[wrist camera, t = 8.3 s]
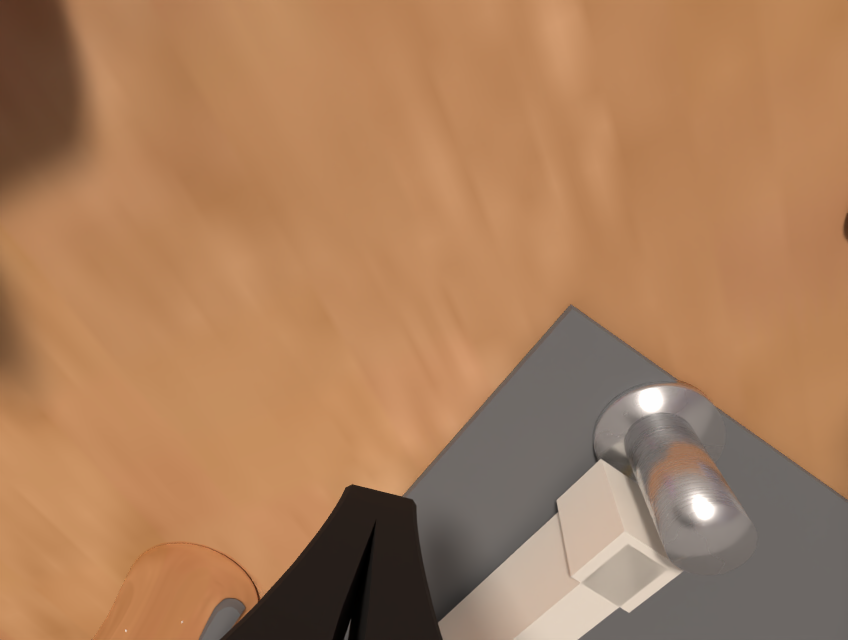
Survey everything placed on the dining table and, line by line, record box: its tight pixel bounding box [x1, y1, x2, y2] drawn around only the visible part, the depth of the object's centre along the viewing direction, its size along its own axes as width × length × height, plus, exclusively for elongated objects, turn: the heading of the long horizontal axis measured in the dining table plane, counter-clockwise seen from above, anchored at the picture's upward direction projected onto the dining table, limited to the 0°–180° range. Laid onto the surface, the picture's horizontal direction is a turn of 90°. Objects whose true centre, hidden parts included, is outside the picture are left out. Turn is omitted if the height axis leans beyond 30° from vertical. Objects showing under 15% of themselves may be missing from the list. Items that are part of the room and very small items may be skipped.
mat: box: [344, 305, 848, 640], centre depth 24 cm, size 19×21×1 cm
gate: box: [438, 459, 683, 640], centre depth 20 cm, size 13×2×4 cm, turn 145°
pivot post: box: [593, 380, 757, 575], centre depth 18 cm, size 4×4×6 cm
